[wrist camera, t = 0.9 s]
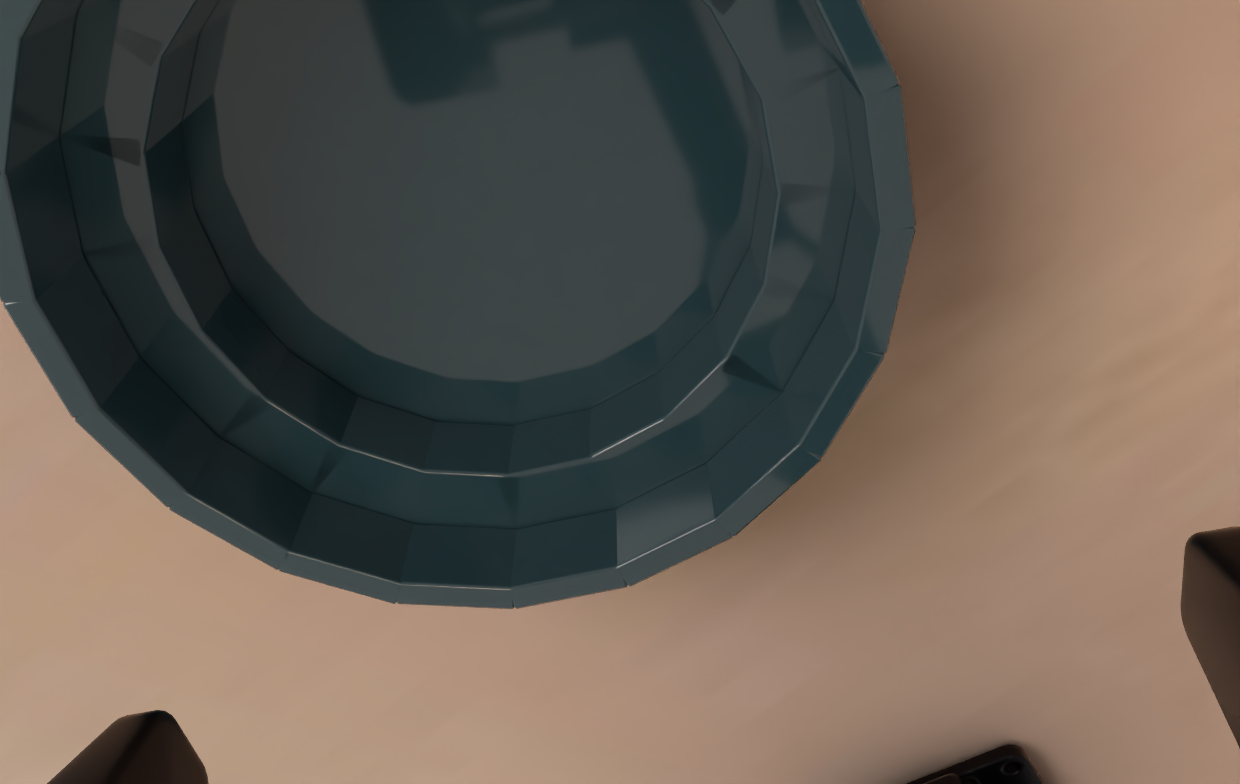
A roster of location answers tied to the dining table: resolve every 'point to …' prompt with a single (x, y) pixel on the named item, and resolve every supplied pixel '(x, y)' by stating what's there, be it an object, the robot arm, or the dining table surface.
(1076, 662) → the dining table surface
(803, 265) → the bowl
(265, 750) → the dining table surface
